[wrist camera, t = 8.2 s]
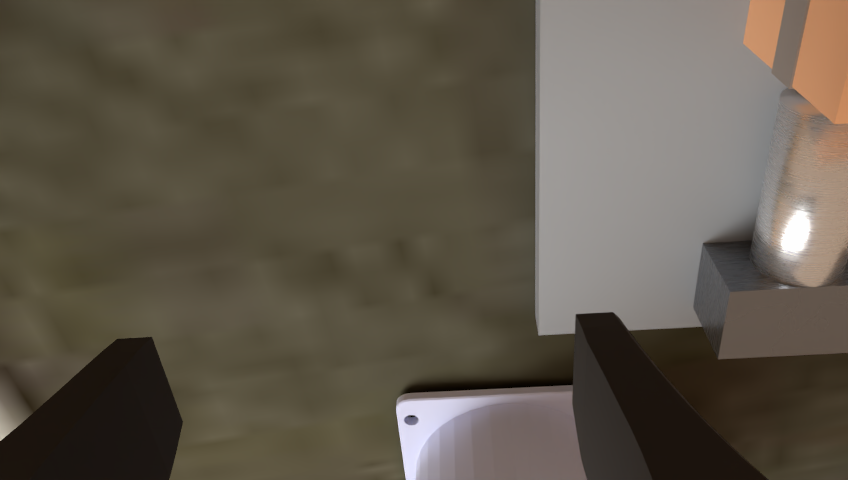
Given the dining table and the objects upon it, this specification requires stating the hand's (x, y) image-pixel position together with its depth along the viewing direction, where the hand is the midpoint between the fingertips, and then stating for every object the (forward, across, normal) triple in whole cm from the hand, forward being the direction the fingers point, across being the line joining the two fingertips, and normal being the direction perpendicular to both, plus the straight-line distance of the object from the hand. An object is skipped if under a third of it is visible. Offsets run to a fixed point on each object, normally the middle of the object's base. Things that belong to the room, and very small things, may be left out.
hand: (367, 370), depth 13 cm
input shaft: (+10, -11, +2) cm, 15 cm away
